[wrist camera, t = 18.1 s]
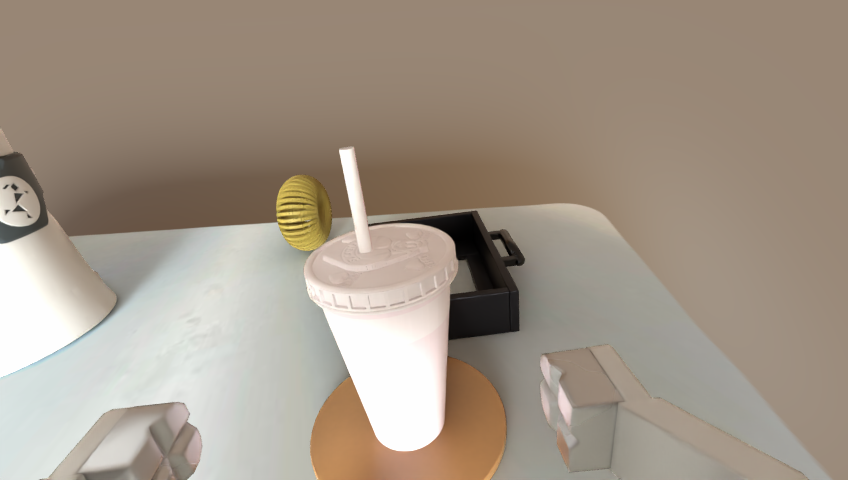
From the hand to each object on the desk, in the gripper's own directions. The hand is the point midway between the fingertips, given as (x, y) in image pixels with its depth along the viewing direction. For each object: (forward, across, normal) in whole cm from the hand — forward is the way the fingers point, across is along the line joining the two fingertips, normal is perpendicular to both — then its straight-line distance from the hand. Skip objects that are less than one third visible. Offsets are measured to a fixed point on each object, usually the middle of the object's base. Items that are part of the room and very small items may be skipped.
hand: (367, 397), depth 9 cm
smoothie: (+8, 0, +10) cm, 13 cm away
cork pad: (+8, 0, +10) cm, 13 cm away
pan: (+22, -2, +10) cm, 24 cm away
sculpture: (+33, +10, +10) cm, 36 cm away
